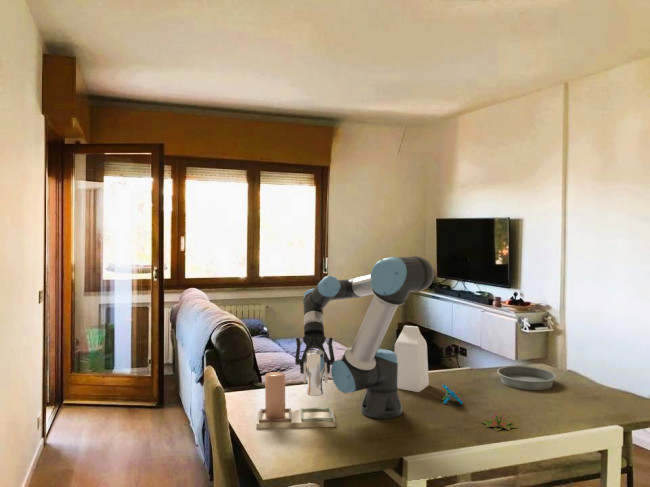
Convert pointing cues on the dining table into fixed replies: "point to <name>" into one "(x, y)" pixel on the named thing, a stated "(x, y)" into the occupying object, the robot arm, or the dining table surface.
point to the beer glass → (315, 371)
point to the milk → (411, 360)
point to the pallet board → (299, 418)
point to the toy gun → (450, 395)
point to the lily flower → (496, 421)
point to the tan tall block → (275, 395)
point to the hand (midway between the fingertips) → (315, 381)
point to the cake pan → (526, 377)
